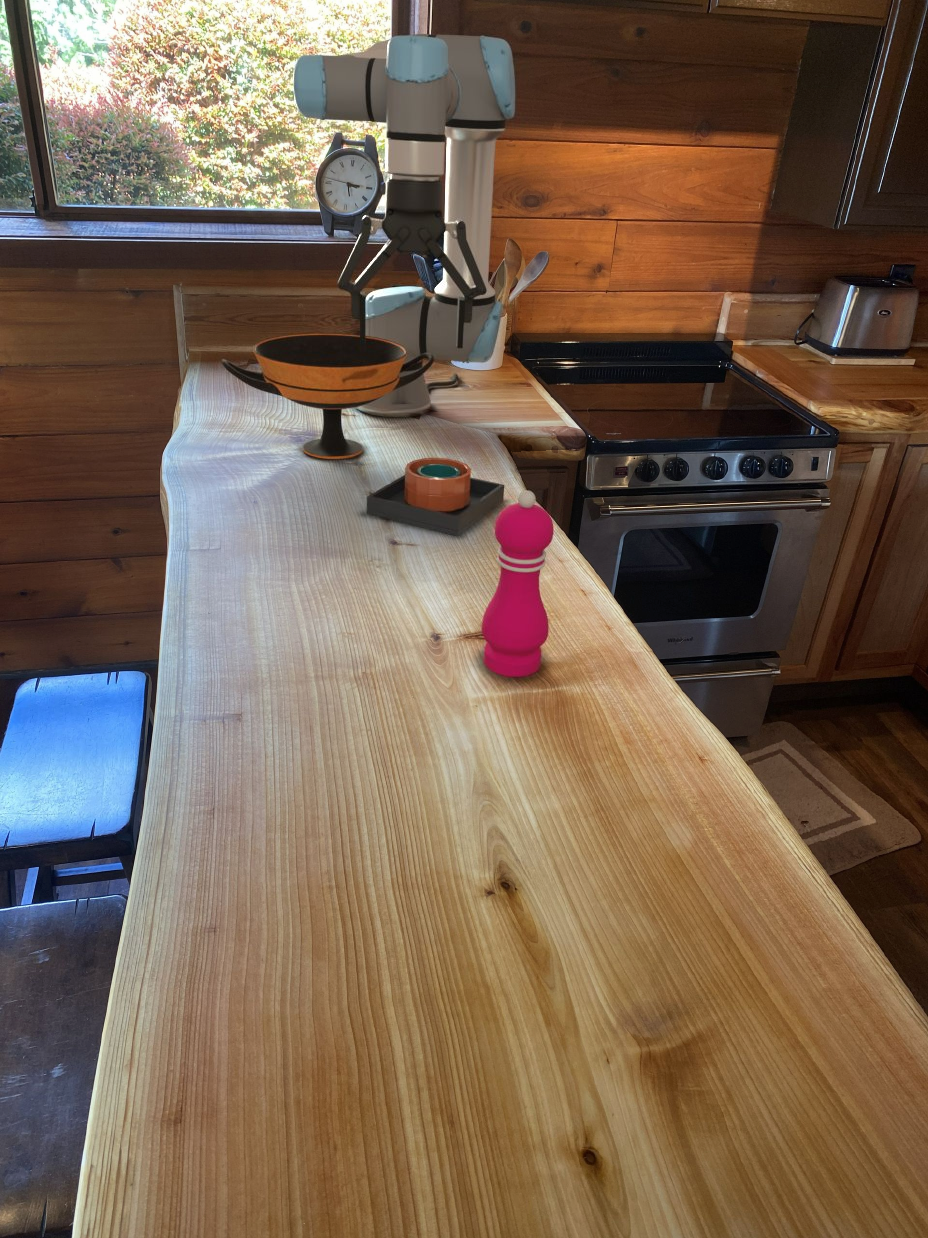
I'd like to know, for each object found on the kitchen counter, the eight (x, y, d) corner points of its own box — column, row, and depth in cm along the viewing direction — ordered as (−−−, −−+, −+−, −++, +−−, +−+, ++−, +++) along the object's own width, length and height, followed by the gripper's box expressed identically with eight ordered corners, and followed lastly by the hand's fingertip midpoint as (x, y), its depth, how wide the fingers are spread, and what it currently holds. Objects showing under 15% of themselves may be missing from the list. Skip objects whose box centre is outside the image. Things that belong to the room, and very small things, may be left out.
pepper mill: (499, 686, 95) (514, 508, 85) (467, 653, 100) (478, 483, 91) (557, 672, 98) (578, 499, 88) (523, 640, 103) (539, 475, 94)
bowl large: (423, 486, 143) (425, 453, 140) (479, 499, 140) (481, 465, 137) (393, 506, 135) (393, 471, 133) (451, 519, 132) (453, 484, 129)
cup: (241, 482, 143) (233, 370, 134) (218, 434, 163) (210, 335, 155) (453, 465, 155) (458, 362, 147) (407, 423, 176) (409, 330, 167)
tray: (418, 482, 147) (418, 466, 146) (503, 501, 142) (504, 484, 140) (366, 514, 134) (366, 496, 133) (457, 536, 129) (458, 518, 127)
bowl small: (428, 488, 141) (429, 461, 139) (465, 496, 139) (467, 468, 136) (409, 501, 136) (409, 472, 134) (446, 510, 133) (448, 481, 131)
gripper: (506, 180, 121) (495, 341, 132) (319, 170, 119) (323, 335, 129) (513, 184, 115) (501, 353, 125) (315, 174, 112) (320, 347, 123)
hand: (411, 344), depth 127 cm, fingers open, 13 cm apart
